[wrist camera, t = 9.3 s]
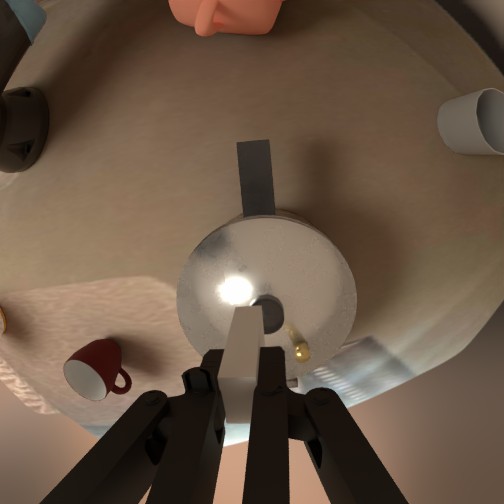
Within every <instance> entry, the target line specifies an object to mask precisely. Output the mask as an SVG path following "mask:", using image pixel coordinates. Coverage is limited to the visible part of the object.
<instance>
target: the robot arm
mask: <svg viewBox="0 0 504 504" xmlns="http://www.w3.org/2000/svg"><path fill="white" fill-rule="evenodd" d="M45 22H46V12H45V11H44V9H43V8H42V7H41V6H40V5H38V4H37V3H36V2H35V1H34V0H0V171H2V172H5V173H16V172H21V171H24V170H26V169H27V168H29V167H30V166H31V165H32V164H33V163H34V162H35V160H36V159H37V158H38V156H39V154H40V152H41V150H42V148H43V146H44V143H45V140H46V137H47V132H48V126H49V111H48V106H47V102H46V100H45V98H44V96H43V95H42V93H41V92H39V91H38V90H36V89H33V88H28V87H18V88H14V89H10V90H6V91H3V90H4V89H5V87H6V85H7V83H8V81H9V79H10V78H11V76H12V74H13V72H14V71H15V69H16V67H17V66H18V64H19V62H20V61H21V59H22V58H23V56H24V54H25V53H26V51H27V50H28V48H29V47H30V45H31V46H32V45H33V43H34V39H35V38H36V36H37V35H38V33H39V32H40V30H41V29H42V27H43V26H44V24H45ZM182 379H183V383H184V387H185V390H186V391H185V394H183V395H179V396H174V397H168V398H167V395H166V394H165V393H164V392H162V391H158V390H152V391H148V392H145V393H143V394H142V395H141V396H139V398H138V399H137V400H136V401H135V402H134V403H133V404H132V405H131V406H130V407H129V408H128V410H127V411H126V412H125V413H124V414H123V415H122V416H121V417H120V418H119V419H118V420H117V422H116V423H115V424H114V425H113V426H112V427H111V428H110V429H109V430H108V431H107V432H106V433H105V434H104V436H103V437H102V438H101V439H100V440H99V441H98V442H97V443H96V444H95V445H94V446H93V447H92V449H91V450H90V451H89V452H88V453H87V454H86V455H85V456H84V457H83V458H82V459H81V460H80V461H79V462H78V463H77V464H76V466H75V467H74V468H73V469H72V470H71V471H70V472H69V473H68V474H67V475H66V476H65V477H64V478H63V479H62V480H61V482H60V483H59V484H58V485H57V486H56V487H55V488H54V489H53V490H52V491H51V492H50V493H49V494H48V495H47V496H46V497H45V498H44V499H43V500H42V501H41V502H40V504H138V503H139V502H140V500H141V499H142V498H143V496H144V495H145V493H146V492H147V490H148V489H149V487H150V486H151V485H152V486H151V489H150V492H149V495H148V498H147V501H146V503H145V504H213V499H214V493H215V488H216V482H217V477H218V471H219V465H220V460H221V454H222V448H223V443H224V437H225V426H224V421H225V417H226V422H227V423H251V424H250V434H249V444H248V454H247V463H246V472H245V482H244V491H243V500H242V504H290V502H289V501H290V494H289V493H290V491H289V441H288V438H290V439H296V440H301V441H304V444H305V446H306V449H307V451H308V453H309V456H310V458H311V460H312V462H313V465H314V467H315V469H316V472H317V474H318V476H319V478H320V481H321V483H322V485H323V487H324V490H325V492H326V494H327V496H328V498H329V500H330V503H331V504H409V503H408V502H407V500H406V499H405V497H404V496H403V494H402V493H401V491H400V490H399V488H398V487H397V485H396V484H395V482H394V481H393V479H392V477H391V476H390V474H389V473H388V471H387V470H386V468H385V467H384V465H383V464H382V462H381V461H380V459H379V458H378V456H377V454H376V453H375V451H374V450H373V448H372V447H371V445H370V444H369V442H368V441H367V439H366V438H365V436H364V435H363V433H362V431H361V430H360V428H359V427H358V425H357V424H356V422H355V421H354V419H353V418H352V416H351V414H350V413H349V412H348V410H347V408H346V407H345V405H344V404H343V402H342V401H341V399H340V397H339V396H338V394H337V393H336V392H335V391H334V390H332V389H329V388H323V387H321V388H315V389H312V390H310V391H309V392H308V393H306V395H304V394H299V393H295V392H293V391H291V390H290V389H289V388H288V386H287V383H286V364H285V351H284V350H283V349H282V347H281V346H272V347H265V339H264V327H263V316H262V305H260V306H241V307H235V311H234V315H233V318H232V322H231V326H230V330H229V334H228V338H227V342H226V346H225V349H210V350H209V351H208V352H207V353H206V354H205V355H204V357H203V360H202V362H201V365H200V367H194V368H191V369H188V370H187V371H185V372H184V373H183V374H182Z"/></svg>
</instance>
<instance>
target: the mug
mask: <svg viewBox="0 0 504 504" xmlns="http://www.w3.org/2000/svg"><path fill="white" fill-rule="evenodd" d="M118 372H119V373H120V374H121V375H122V376H123V378H124V380H125V383H126V385H125V387H123V388H120V387H118V386H116V385H115V381H116V378H117V375H118ZM64 375H65V378H66V380H67V382H68V383H69V385H70V386H71V387H72V388H73V389H74V390H75V391H76V392H77V393H78V394H79V395H81V396H82V397H84V398H86V399H89V400H92V401H101V400H103V399H104V398H105V397H106V396H107V394H108V393H109V392H110V391H112V392H114V393H116V394H125V393H127V392H128V391H129V390H130V388H131V385H132V381H131V378H130V376H129V375H128V373H127V372H126V371H125V370H124V369H122V368H121V350H120V347H119V346H118V344H117V343H116V342H114V341H113V340H110V339H100V340H95V341H93V342H91V343H89V344H88V345H86V346H84V347H83V348H81V349H80V350H78V351H77V352H75V353H74V354H73V355H72V356H71V357H70V358H69V359H68V360H67V361H66V363H65V364H64Z"/></svg>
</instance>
